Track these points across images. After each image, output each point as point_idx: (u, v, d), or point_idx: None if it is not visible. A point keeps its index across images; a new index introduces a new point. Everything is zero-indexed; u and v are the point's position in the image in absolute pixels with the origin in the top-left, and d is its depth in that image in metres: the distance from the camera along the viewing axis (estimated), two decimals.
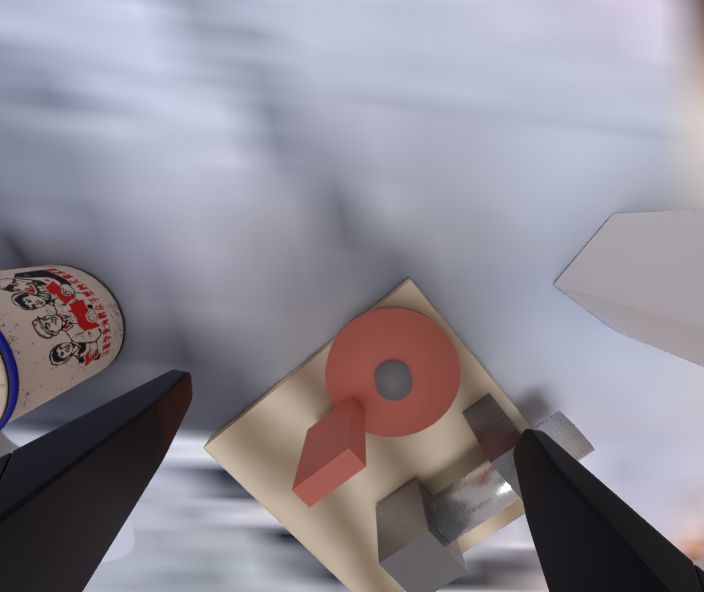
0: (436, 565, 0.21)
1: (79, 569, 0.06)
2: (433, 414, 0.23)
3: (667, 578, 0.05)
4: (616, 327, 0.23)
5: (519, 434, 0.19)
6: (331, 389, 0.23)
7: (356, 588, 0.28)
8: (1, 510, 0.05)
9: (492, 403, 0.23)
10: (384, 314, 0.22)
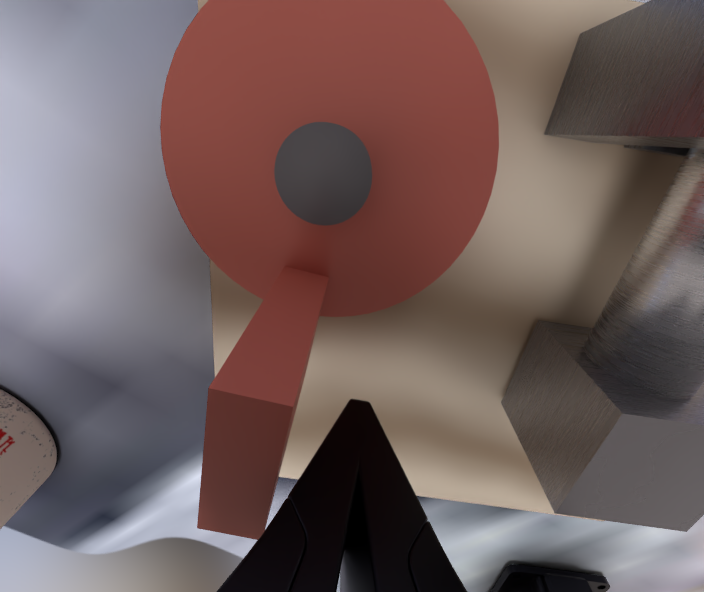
0: (689, 461, 0.09)
1: None
2: (469, 194, 0.09)
3: (382, 531, 0.05)
4: None
5: None
6: (243, 278, 0.11)
7: None
8: (330, 563, 0.05)
9: (603, 34, 0.08)
10: (197, 31, 0.08)
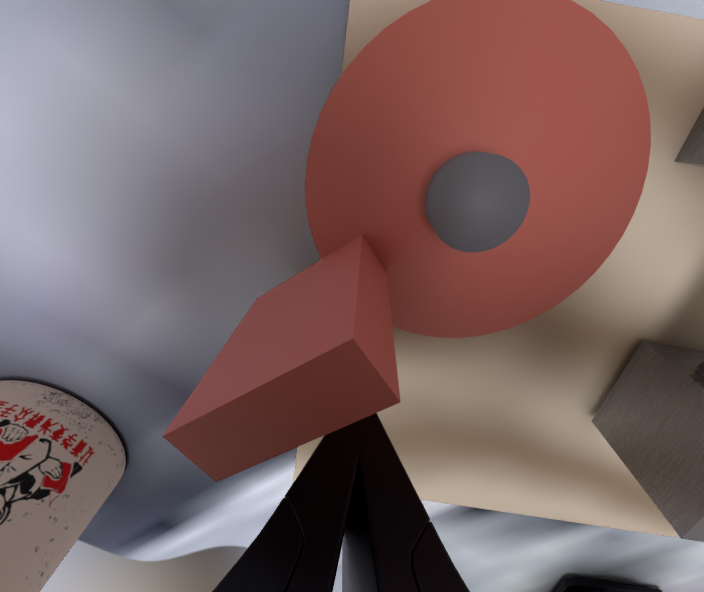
0: None
1: None
2: (534, 301, 0.10)
3: (385, 532, 0.05)
4: None
5: None
6: (317, 212, 0.10)
7: (631, 523, 0.17)
8: (327, 563, 0.05)
9: None
10: None
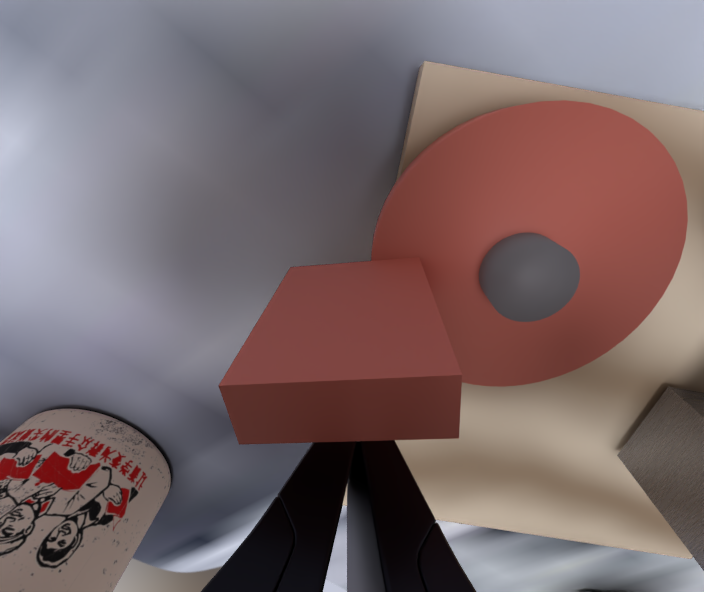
0: None
1: None
2: (518, 373, 0.12)
3: (391, 533, 0.05)
4: None
5: None
6: (392, 219, 0.10)
7: (650, 546, 0.18)
8: (318, 561, 0.05)
9: None
10: (630, 129, 0.08)
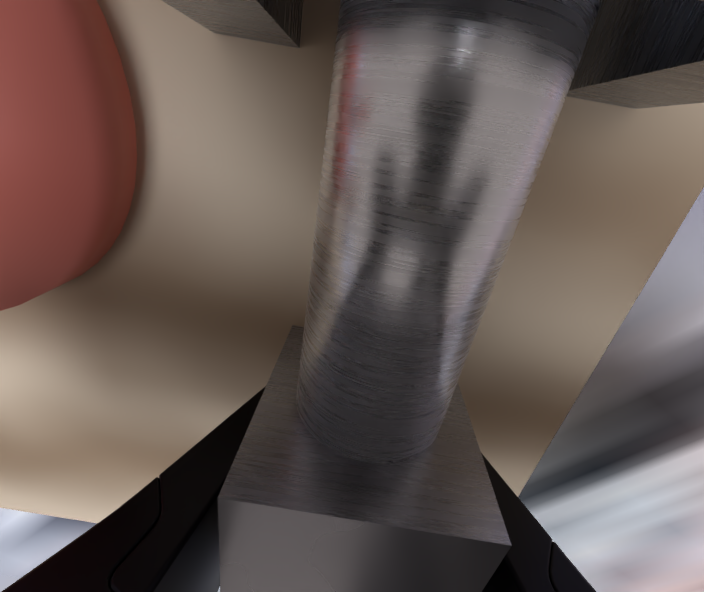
0: (377, 574, 0.05)
1: (210, 590, 0.06)
2: None
3: (516, 553, 0.05)
4: None
5: None
6: None
7: None
8: (176, 539, 0.05)
9: None
10: None
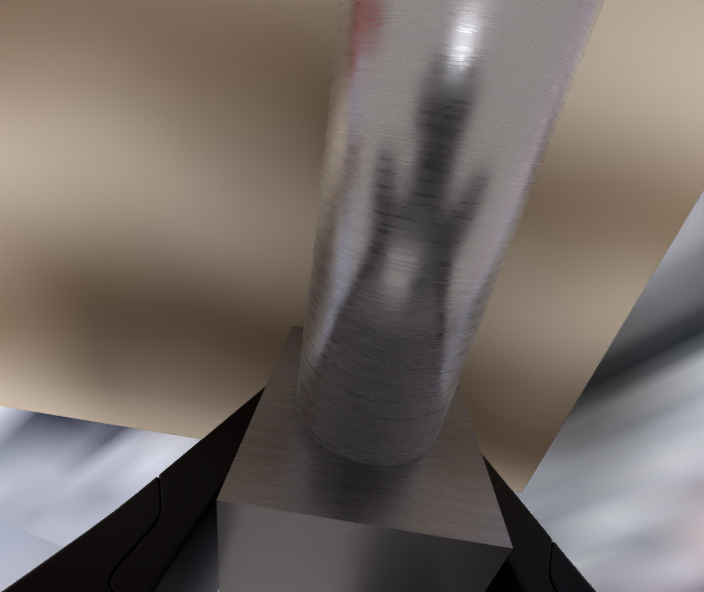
0: (377, 577, 0.05)
1: (210, 590, 0.06)
2: None
3: (516, 553, 0.05)
4: None
5: None
6: None
7: None
8: (176, 538, 0.05)
9: None
10: None
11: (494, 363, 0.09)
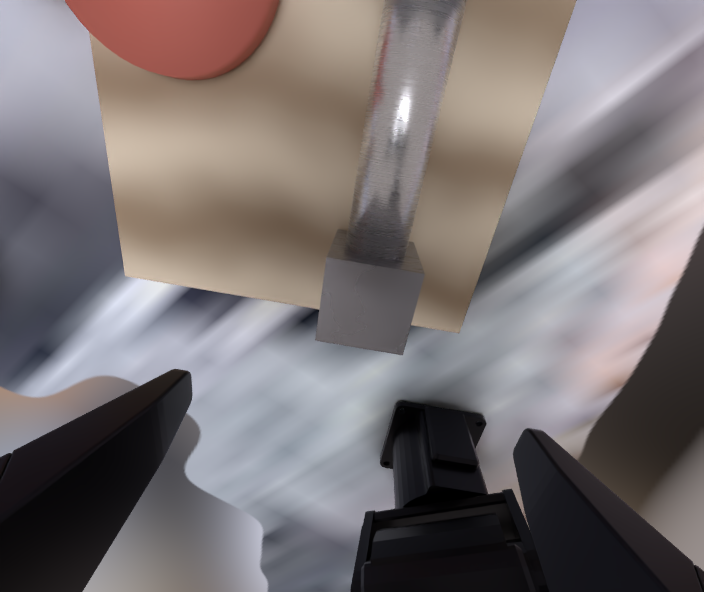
0: (379, 294, 0.14)
1: (79, 569, 0.06)
2: (195, 57, 0.14)
3: (667, 578, 0.05)
4: None
5: None
6: None
7: (417, 317, 0.20)
8: (1, 510, 0.05)
9: None
10: None
11: (437, 249, 0.18)
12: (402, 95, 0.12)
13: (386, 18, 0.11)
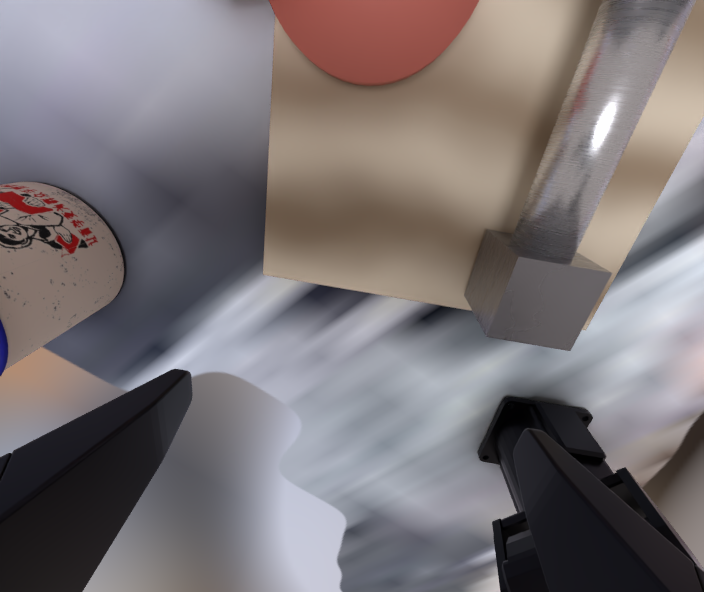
0: (562, 292, 0.15)
1: (79, 569, 0.06)
2: (390, 64, 0.14)
3: (667, 578, 0.05)
4: None
5: None
6: None
7: None
8: (1, 510, 0.05)
9: None
10: None
11: (579, 249, 0.19)
12: (618, 102, 0.12)
13: (610, 29, 0.12)
